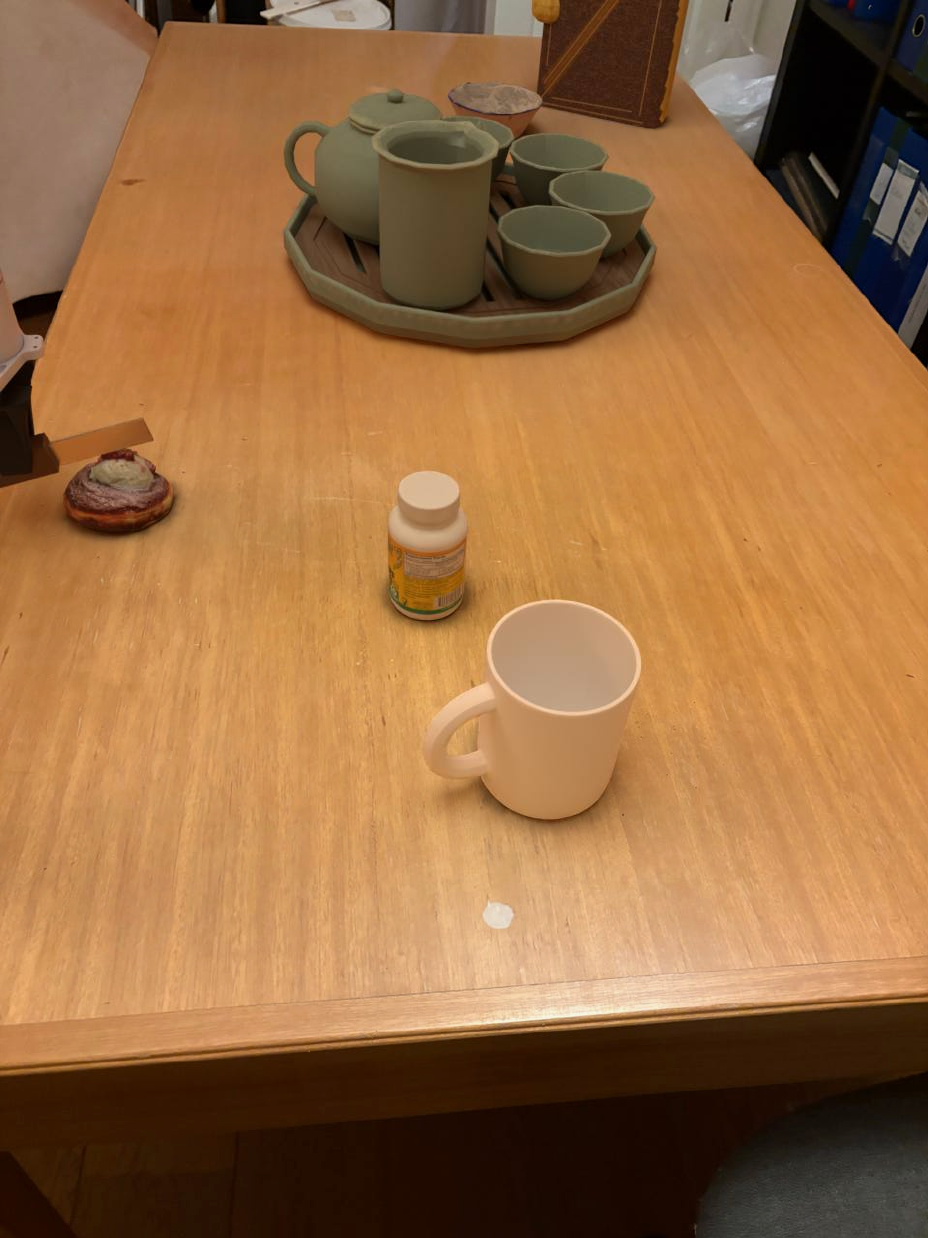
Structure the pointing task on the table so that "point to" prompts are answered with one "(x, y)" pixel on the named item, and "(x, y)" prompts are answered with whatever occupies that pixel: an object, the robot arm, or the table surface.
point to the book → (610, 57)
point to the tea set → (464, 227)
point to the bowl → (496, 103)
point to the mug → (544, 709)
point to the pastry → (118, 493)
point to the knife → (79, 448)
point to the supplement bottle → (427, 546)
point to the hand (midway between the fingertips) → (18, 462)
